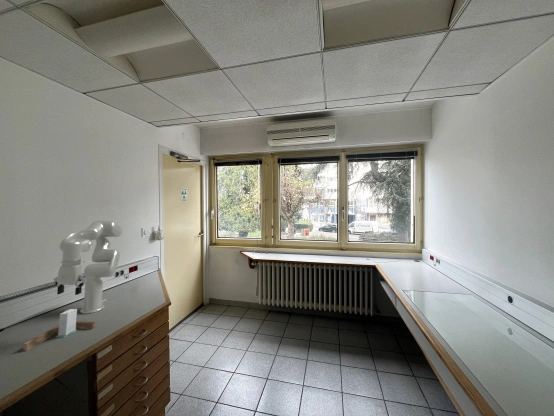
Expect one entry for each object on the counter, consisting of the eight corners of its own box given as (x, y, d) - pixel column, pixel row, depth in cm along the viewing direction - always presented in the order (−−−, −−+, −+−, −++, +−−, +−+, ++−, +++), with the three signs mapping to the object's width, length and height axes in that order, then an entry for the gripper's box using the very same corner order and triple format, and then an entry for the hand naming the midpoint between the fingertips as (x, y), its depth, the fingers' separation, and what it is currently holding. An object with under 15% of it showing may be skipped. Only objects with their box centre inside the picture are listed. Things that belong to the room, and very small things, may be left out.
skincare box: (68, 329, 121) (69, 308, 122) (76, 330, 121) (77, 308, 122) (57, 336, 115) (59, 313, 115) (65, 336, 115) (67, 313, 116)
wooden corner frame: (66, 326, 125) (67, 320, 125) (94, 327, 125) (94, 321, 125) (23, 350, 103) (23, 343, 103) (56, 351, 103) (57, 344, 103)
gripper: (48, 264, 115) (46, 295, 115) (81, 265, 116) (78, 296, 115) (62, 261, 123) (60, 290, 122) (92, 262, 123) (90, 291, 123)
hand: (69, 293), depth 119 cm, fingers open, 9 cm apart
